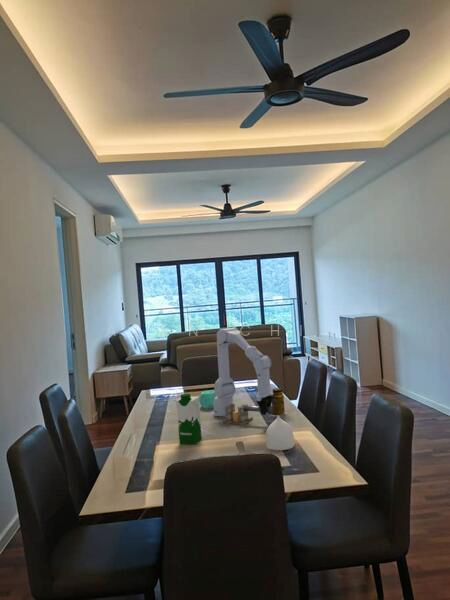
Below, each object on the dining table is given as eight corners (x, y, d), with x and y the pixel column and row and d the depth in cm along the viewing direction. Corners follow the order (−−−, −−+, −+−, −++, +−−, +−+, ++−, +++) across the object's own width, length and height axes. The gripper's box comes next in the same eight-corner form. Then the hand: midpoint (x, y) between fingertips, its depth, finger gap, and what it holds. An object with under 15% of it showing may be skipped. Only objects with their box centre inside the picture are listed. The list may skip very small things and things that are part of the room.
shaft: (239, 413, 203) (239, 404, 203) (243, 410, 206) (243, 402, 206) (269, 415, 196) (268, 406, 196) (272, 413, 199) (272, 404, 199)
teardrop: (275, 438, 178) (273, 409, 177) (299, 443, 171) (297, 412, 170) (260, 447, 169) (258, 416, 169) (284, 452, 162) (282, 420, 162)
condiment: (288, 413, 214) (286, 389, 214) (275, 417, 209) (273, 392, 209) (278, 410, 220) (277, 387, 220) (265, 414, 215) (264, 389, 215)
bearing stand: (223, 423, 204) (222, 407, 204) (233, 417, 213) (232, 402, 213) (243, 425, 199) (242, 408, 199) (252, 419, 207) (251, 403, 207)
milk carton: (176, 444, 179) (173, 395, 179) (185, 437, 187) (182, 390, 187) (196, 445, 176) (192, 396, 176) (204, 438, 184) (201, 391, 184)
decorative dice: (210, 409, 232) (209, 394, 232) (199, 407, 237) (198, 392, 237) (220, 405, 238) (219, 390, 238) (208, 404, 243) (207, 389, 243)
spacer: (233, 423, 204) (232, 412, 204) (237, 420, 209) (236, 410, 209) (238, 423, 203) (237, 412, 203) (241, 420, 208) (240, 410, 208)
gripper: (265, 387, 190) (267, 418, 190) (278, 380, 203) (280, 409, 203) (250, 386, 194) (252, 416, 194) (264, 379, 206) (266, 408, 206)
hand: (265, 413), depth 199 cm, fingers closed on shaft, 4 cm apart
